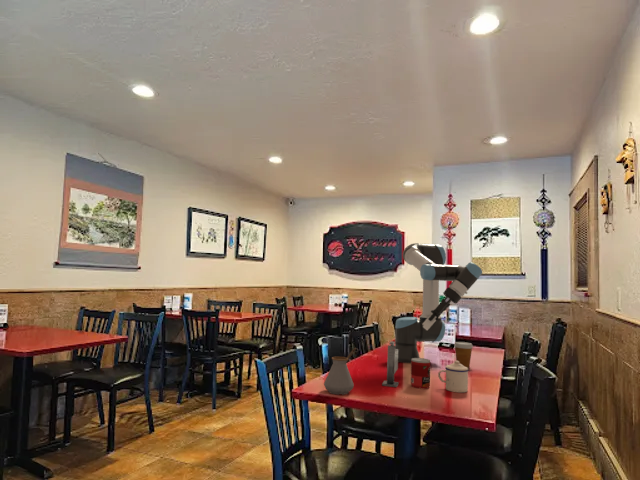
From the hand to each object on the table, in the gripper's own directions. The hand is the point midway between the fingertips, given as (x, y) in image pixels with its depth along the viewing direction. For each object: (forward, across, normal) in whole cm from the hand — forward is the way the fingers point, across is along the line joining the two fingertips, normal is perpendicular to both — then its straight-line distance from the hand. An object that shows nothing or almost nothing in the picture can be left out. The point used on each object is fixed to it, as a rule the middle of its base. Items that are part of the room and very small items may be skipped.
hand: (424, 327), depth 200 cm
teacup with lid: (+13, -10, -25) cm, 30 cm away
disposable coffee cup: (0, +44, -25) cm, 51 cm away
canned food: (+21, -10, -15) cm, 27 cm away
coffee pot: (+41, -28, +6) cm, 50 cm away
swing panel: (+24, -4, -3) cm, 25 cm away
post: (+28, -13, -5) cm, 31 cm away
